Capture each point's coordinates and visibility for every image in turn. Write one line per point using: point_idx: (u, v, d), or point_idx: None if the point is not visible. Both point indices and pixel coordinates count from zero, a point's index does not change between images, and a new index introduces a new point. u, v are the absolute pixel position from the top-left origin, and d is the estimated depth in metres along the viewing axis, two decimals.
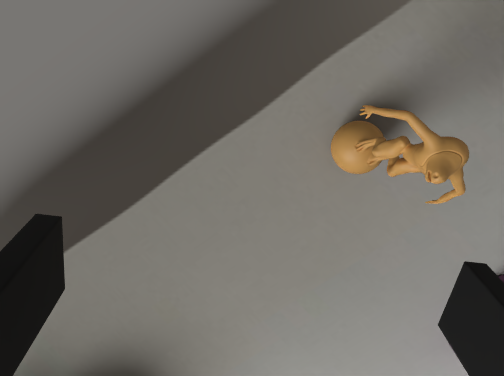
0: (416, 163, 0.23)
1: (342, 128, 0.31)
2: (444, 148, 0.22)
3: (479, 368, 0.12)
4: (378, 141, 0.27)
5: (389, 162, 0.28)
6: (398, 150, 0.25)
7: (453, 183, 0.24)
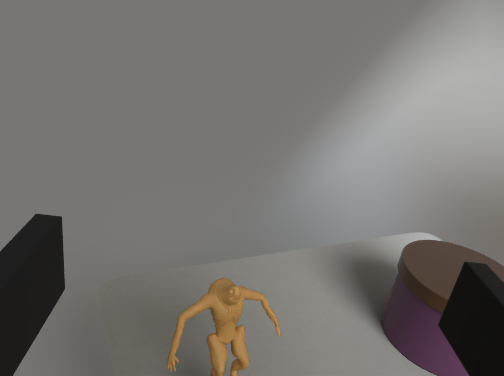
0: (226, 317, 0.26)
1: None
2: (214, 290, 0.27)
3: (478, 368, 0.12)
4: (212, 372, 0.27)
5: (237, 367, 0.28)
6: (219, 343, 0.27)
7: (251, 296, 0.28)
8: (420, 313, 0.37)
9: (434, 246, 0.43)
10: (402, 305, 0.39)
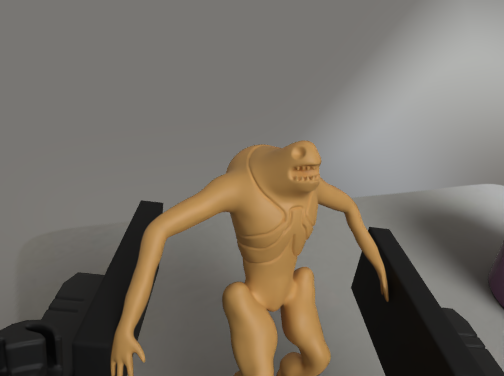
0: (279, 232, 0.10)
1: None
2: (243, 164, 0.10)
3: (373, 320, 0.14)
4: None
5: (296, 371, 0.11)
6: (256, 308, 0.10)
7: (329, 194, 0.11)
8: None
9: None
10: None
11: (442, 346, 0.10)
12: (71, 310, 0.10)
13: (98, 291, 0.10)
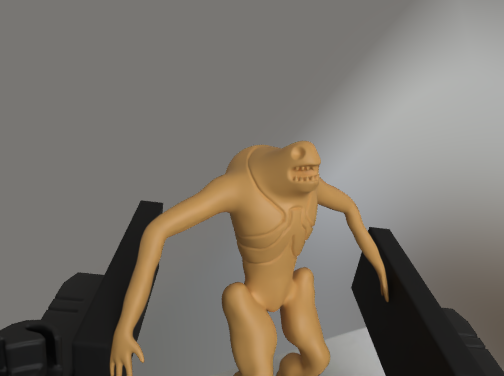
0: (278, 233, 0.10)
1: None
2: (242, 165, 0.10)
3: (373, 320, 0.14)
4: None
5: (296, 372, 0.11)
6: (256, 308, 0.10)
7: (329, 195, 0.11)
8: None
9: None
10: None
11: (442, 346, 0.10)
12: (71, 310, 0.10)
13: (98, 291, 0.10)
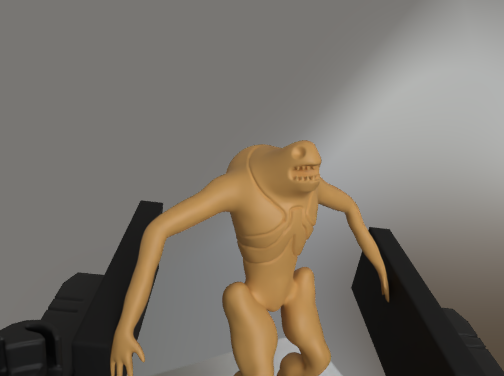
0: (279, 232, 0.10)
1: None
2: (243, 164, 0.10)
3: (373, 320, 0.14)
4: None
5: (297, 372, 0.11)
6: (256, 308, 0.10)
7: (330, 194, 0.11)
8: None
9: None
10: None
11: (442, 346, 0.10)
12: (71, 310, 0.10)
13: (98, 291, 0.10)
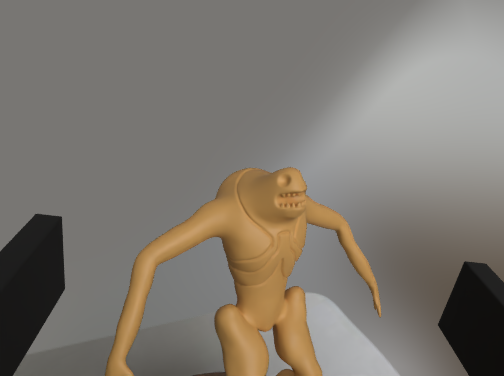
0: (267, 257, 0.10)
1: None
2: (231, 190, 0.10)
3: (478, 368, 0.12)
4: None
5: None
6: (247, 330, 0.10)
7: (319, 214, 0.12)
8: None
9: None
10: None
11: None
12: None
13: None
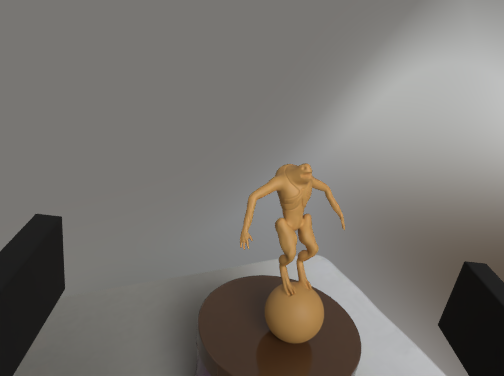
0: (297, 197, 0.26)
1: (270, 319, 0.27)
2: (282, 172, 0.26)
3: (478, 368, 0.12)
4: (281, 258, 0.27)
5: (305, 256, 0.27)
6: (288, 227, 0.26)
7: (317, 183, 0.28)
8: None
9: (262, 284, 0.33)
10: (198, 370, 0.29)
11: None
12: None
13: None
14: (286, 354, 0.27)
